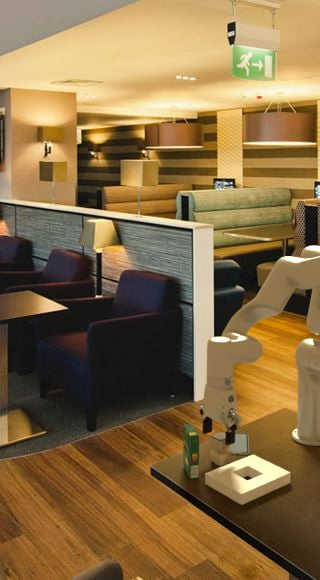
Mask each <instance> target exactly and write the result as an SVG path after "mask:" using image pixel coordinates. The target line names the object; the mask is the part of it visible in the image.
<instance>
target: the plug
mask: <svg viewBox="0 0 320 580" xmlns="http://www.w3.org/2000/svg"><path fill="white" fill-rule="evenodd" d="M225 433H226V432H223V431H220V432H217V433H215V434H211V435H210V461H212V462H211V463H213V462H214V463H213V464H215V465H217V466H218V467H223V466H225V465H228V464H230V463H232V462H231V461H232V460H231V459H232V454H231V444H230V445H226V444H225V435H226V434H225ZM222 465H223V466H222Z"/></svg>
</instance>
